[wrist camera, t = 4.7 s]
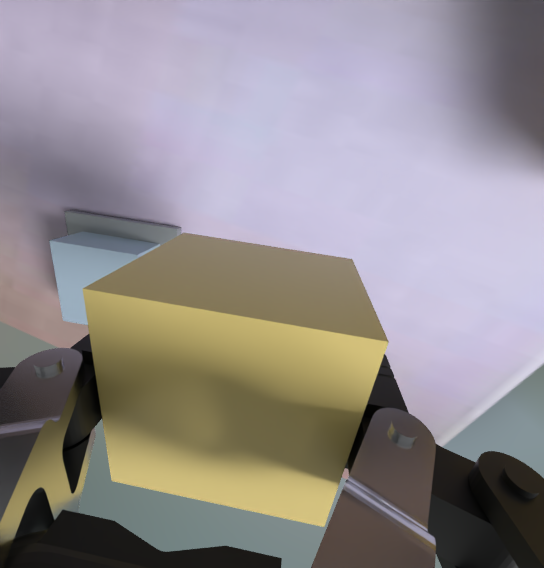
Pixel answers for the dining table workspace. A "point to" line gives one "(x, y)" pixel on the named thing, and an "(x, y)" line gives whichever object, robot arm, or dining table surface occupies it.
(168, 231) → the baseplate
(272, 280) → the mustard block
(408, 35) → the dining table surface
